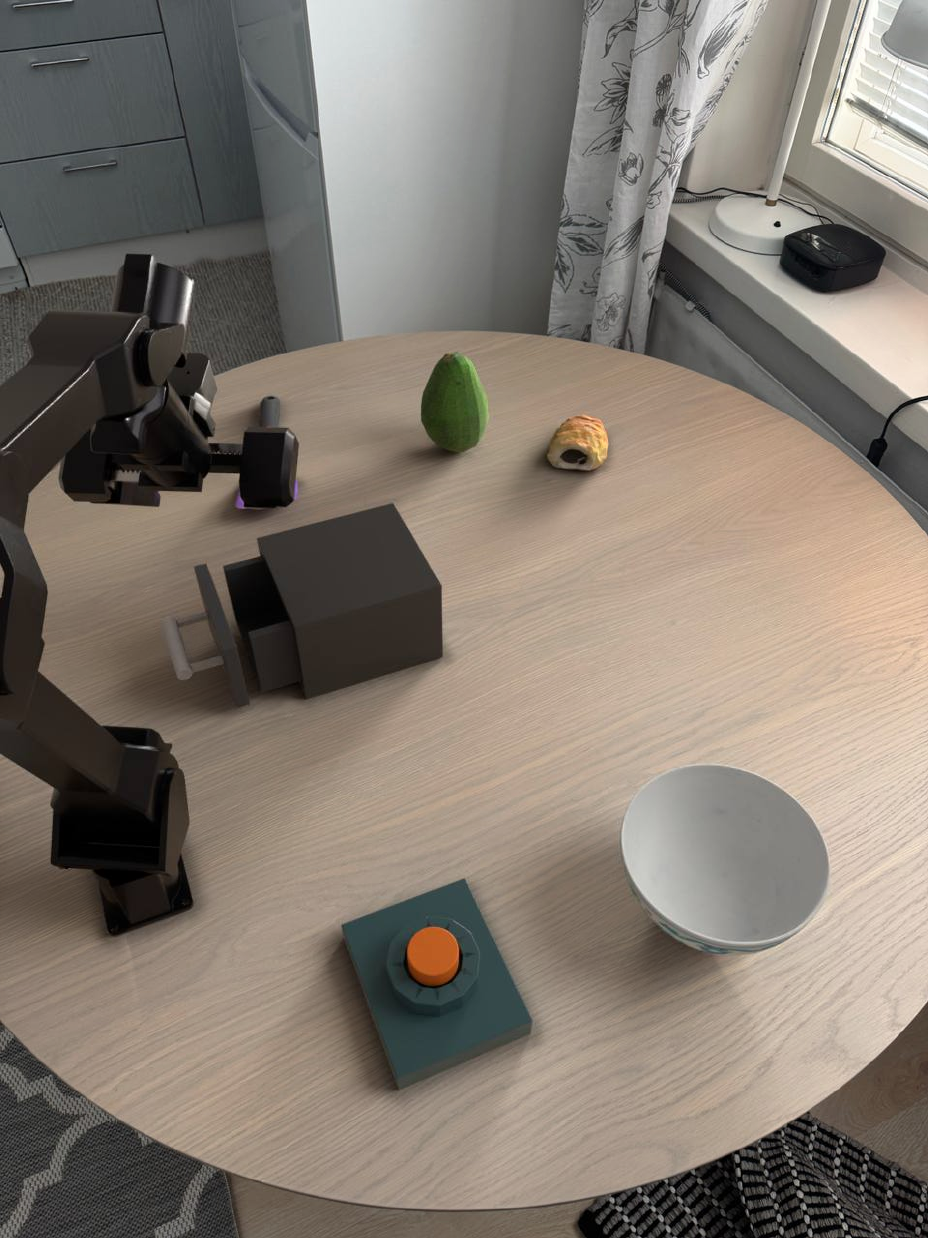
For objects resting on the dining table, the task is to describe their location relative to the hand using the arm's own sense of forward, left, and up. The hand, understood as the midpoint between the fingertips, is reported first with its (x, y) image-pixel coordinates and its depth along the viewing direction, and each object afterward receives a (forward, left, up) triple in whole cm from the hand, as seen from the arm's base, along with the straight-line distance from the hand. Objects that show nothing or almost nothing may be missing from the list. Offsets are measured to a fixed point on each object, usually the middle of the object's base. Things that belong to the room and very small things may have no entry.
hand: (208, 502), depth 89 cm
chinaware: (-45, -26, -15) cm, 54 cm away
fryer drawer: (-7, -1, -13) cm, 15 cm away
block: (-43, -4, -14) cm, 45 cm away
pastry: (+11, -44, -15) cm, 48 cm away
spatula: (+24, -10, -15) cm, 30 cm away
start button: (-43, -4, -11) cm, 44 cm away
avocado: (+18, -31, -15) cm, 39 cm away
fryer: (-7, -10, -14) cm, 19 cm away
